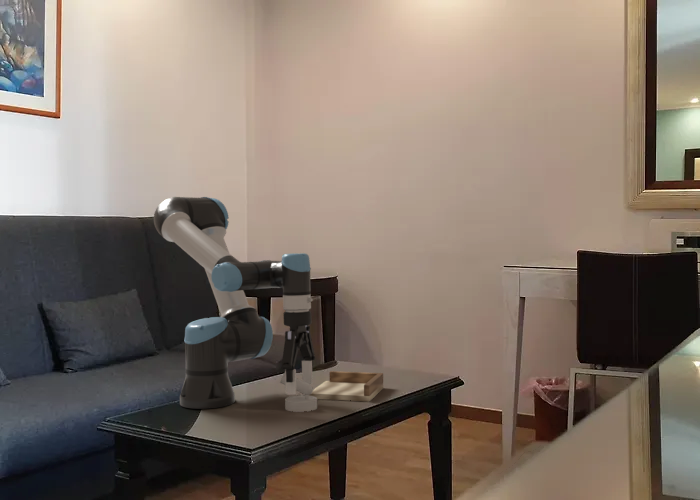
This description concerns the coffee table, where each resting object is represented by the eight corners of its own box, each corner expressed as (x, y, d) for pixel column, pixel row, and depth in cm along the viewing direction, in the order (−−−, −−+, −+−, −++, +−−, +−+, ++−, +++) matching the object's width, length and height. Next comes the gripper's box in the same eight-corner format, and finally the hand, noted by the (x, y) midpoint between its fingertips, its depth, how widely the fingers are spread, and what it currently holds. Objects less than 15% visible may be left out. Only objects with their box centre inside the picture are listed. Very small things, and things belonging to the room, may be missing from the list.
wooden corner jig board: (308, 398, 215) (307, 382, 215) (326, 385, 232) (326, 370, 232) (369, 401, 210) (369, 385, 210) (383, 387, 228) (383, 373, 227)
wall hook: (284, 369, 209) (320, 370, 207) (285, 403, 209) (320, 404, 207) (275, 375, 201) (312, 376, 199) (276, 411, 201) (312, 412, 199)
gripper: (295, 315, 190) (297, 399, 191) (324, 306, 214) (326, 380, 215) (267, 315, 192) (269, 398, 193) (299, 306, 216) (301, 379, 217)
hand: (299, 389), depth 204 cm, fingers open, 13 cm apart
